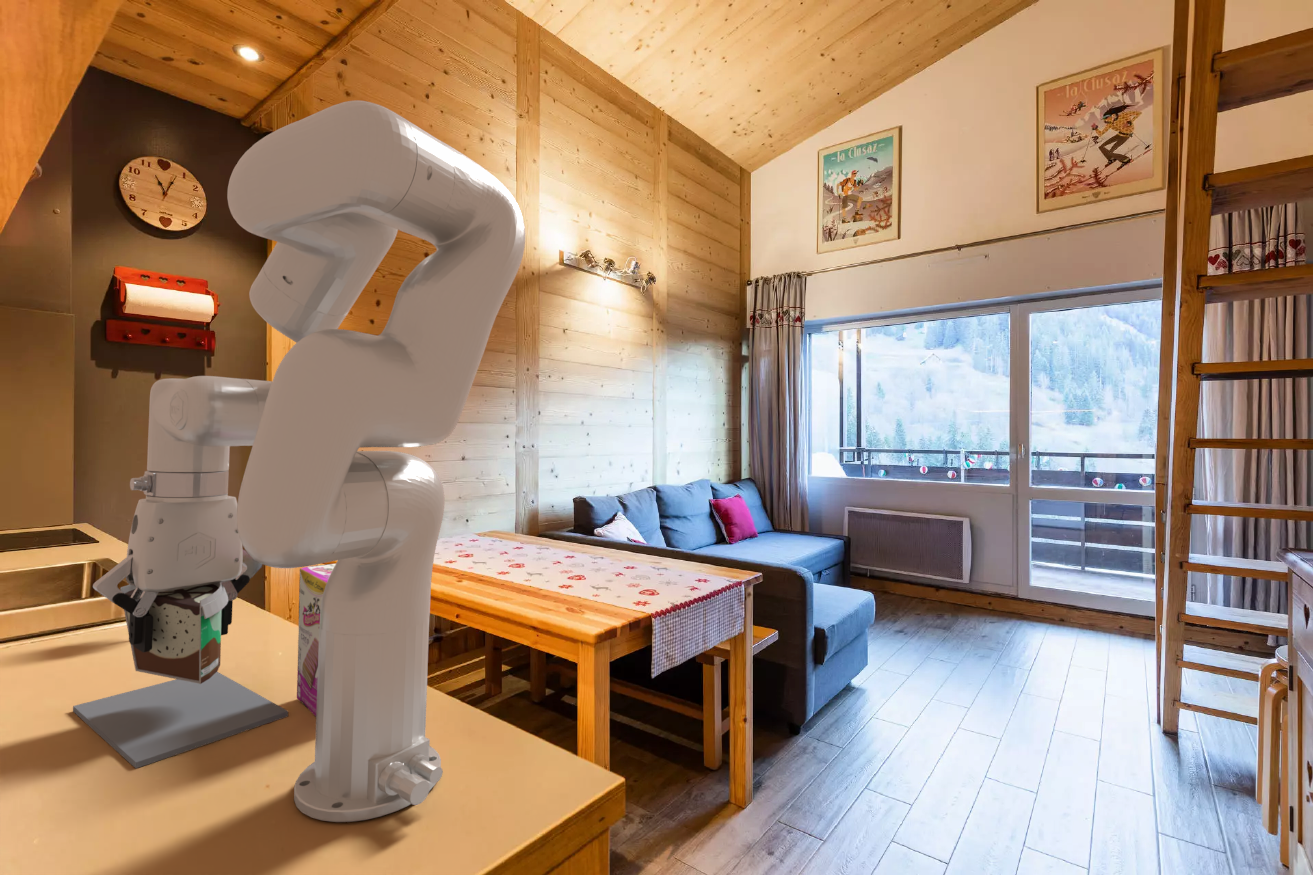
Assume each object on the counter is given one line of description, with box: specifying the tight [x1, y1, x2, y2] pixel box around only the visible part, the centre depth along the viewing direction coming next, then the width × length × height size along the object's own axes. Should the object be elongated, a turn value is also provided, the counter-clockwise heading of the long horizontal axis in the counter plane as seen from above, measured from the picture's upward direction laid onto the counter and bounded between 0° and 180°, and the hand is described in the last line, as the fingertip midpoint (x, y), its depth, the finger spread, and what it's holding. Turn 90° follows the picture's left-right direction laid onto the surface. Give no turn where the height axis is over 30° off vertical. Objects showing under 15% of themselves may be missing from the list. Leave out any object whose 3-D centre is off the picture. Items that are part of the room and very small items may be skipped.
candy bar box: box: [296, 563, 336, 717], centre depth 73 cm, size 11×5×16 cm, turn 47°
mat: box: [72, 671, 289, 769], centre depth 71 cm, size 20×14×1 cm
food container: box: [120, 582, 228, 684], centre depth 71 cm, size 12×6×10 cm, turn 77°
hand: (182, 639), depth 71 cm, fingers closed on food container, 6 cm apart
